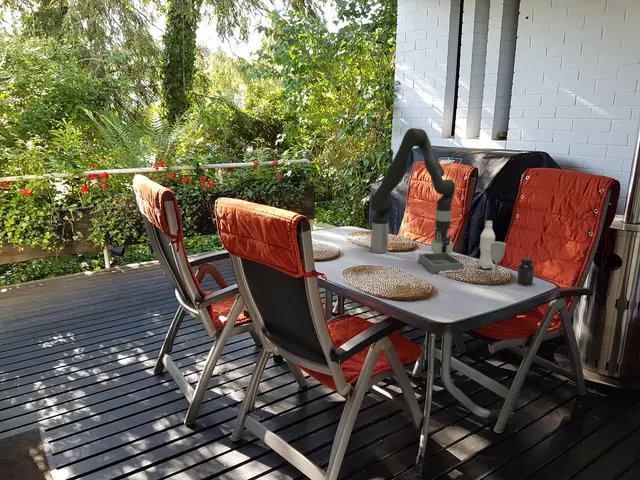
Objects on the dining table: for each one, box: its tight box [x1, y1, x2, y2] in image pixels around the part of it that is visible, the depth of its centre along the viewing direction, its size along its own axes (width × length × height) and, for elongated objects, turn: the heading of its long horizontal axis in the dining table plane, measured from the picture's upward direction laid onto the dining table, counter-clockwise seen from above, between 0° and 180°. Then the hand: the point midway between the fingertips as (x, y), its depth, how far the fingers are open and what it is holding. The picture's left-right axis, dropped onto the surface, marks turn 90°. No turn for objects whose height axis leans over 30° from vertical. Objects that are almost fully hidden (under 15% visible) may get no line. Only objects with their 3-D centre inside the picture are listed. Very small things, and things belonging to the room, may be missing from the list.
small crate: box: [430, 239, 453, 254], centre depth 252 cm, size 9×6×6 cm, turn 99°
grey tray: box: [418, 252, 464, 275], centre depth 254 cm, size 16×20×4 cm
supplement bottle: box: [516, 257, 535, 286], centre depth 228 cm, size 7×7×12 cm
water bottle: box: [477, 220, 496, 268], centre depth 249 cm, size 7×7×25 cm
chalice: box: [490, 241, 507, 276], centre depth 233 cm, size 7×7×18 cm
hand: (441, 250), depth 253 cm, fingers closed on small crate, 6 cm apart
